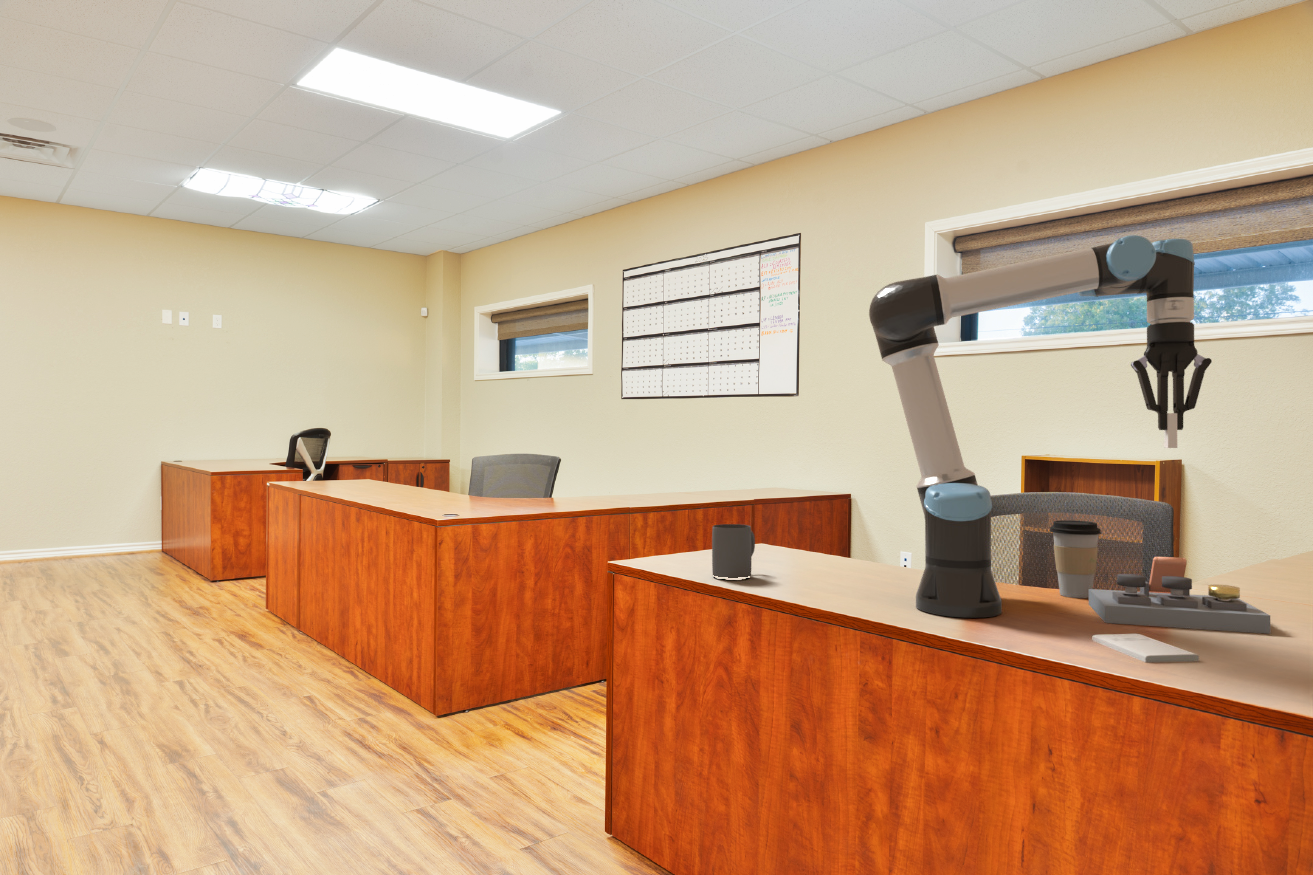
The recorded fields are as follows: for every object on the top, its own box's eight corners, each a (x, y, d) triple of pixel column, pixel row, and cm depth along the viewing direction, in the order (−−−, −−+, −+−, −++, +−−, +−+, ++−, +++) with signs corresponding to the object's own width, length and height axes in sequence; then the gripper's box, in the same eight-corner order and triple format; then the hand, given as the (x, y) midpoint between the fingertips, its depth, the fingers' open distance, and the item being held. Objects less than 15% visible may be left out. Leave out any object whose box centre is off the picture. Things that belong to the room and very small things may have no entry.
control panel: (1105, 622, 138) (1105, 591, 138) (1088, 604, 153) (1088, 576, 153) (1270, 633, 130) (1270, 600, 130) (1235, 613, 145) (1235, 583, 145)
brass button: (1213, 605, 135) (1213, 588, 135) (1204, 600, 139) (1204, 583, 139) (1243, 607, 133) (1243, 589, 133) (1234, 601, 137) (1234, 585, 137)
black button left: (1119, 593, 139) (1119, 577, 139) (1114, 589, 144) (1114, 573, 144) (1148, 595, 138) (1148, 578, 138) (1142, 590, 142) (1142, 574, 142)
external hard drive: (1145, 666, 114) (1091, 644, 126) (1199, 665, 114) (1140, 642, 127) (1145, 655, 114) (1091, 633, 126) (1199, 653, 114) (1140, 632, 127)
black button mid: (1165, 596, 137) (1165, 579, 137) (1159, 591, 141) (1158, 575, 141) (1195, 597, 136) (1195, 581, 136) (1187, 593, 140) (1187, 576, 140)
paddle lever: (1148, 591, 146) (1154, 559, 143) (1147, 587, 147) (1152, 555, 143) (1181, 593, 145) (1188, 560, 141) (1179, 589, 146) (1186, 556, 142)
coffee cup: (1108, 600, 156) (1108, 525, 156) (1057, 599, 158) (1056, 524, 158) (1092, 591, 165) (1092, 520, 165) (1043, 590, 167) (1043, 519, 167)
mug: (736, 582, 177) (736, 529, 177) (704, 577, 183) (704, 526, 183) (769, 574, 187) (769, 524, 187) (738, 570, 194) (738, 521, 194)
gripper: (1135, 322, 148) (1135, 448, 148) (1217, 318, 143) (1218, 448, 143) (1126, 327, 155) (1126, 447, 155) (1204, 324, 150) (1204, 447, 150)
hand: (1170, 447), depth 149 cm, fingers closed
